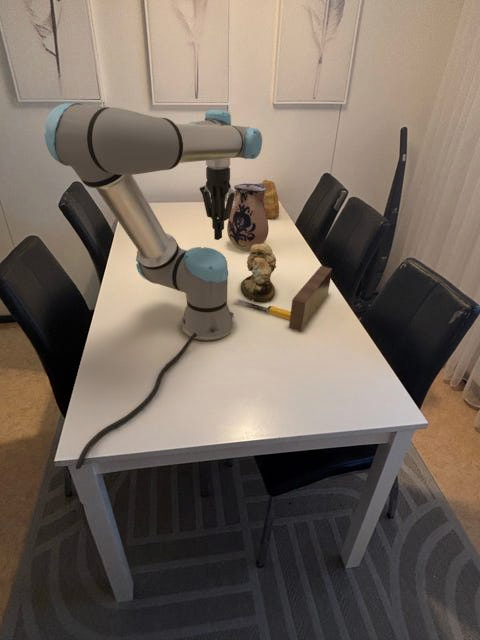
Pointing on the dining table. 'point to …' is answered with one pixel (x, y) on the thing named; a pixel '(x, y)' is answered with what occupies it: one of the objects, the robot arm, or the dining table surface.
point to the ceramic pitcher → (248, 217)
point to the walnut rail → (310, 298)
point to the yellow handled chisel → (266, 309)
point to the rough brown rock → (271, 199)
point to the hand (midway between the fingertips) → (218, 238)
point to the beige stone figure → (259, 274)
